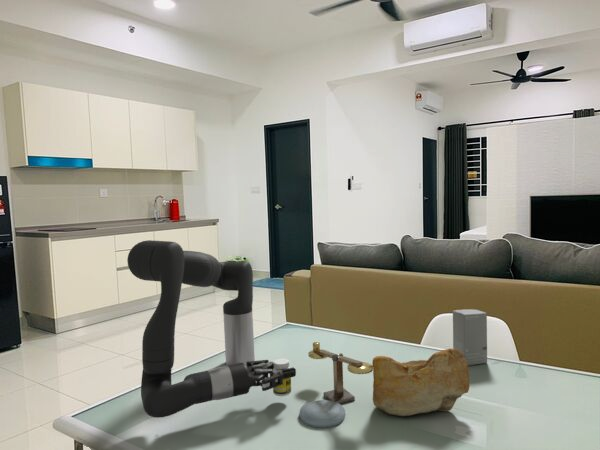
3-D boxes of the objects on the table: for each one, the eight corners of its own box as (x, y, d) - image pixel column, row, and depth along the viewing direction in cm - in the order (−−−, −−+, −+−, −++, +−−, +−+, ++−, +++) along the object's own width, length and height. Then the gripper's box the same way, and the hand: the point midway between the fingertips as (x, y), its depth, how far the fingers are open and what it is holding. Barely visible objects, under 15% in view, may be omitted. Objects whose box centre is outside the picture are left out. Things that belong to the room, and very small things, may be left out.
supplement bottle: (289, 397, 112) (288, 365, 111) (271, 396, 113) (269, 364, 112) (293, 388, 117) (292, 358, 116) (275, 387, 118) (274, 357, 117)
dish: (292, 411, 110) (292, 405, 110) (331, 401, 114) (331, 396, 114) (312, 432, 100) (311, 426, 100) (353, 420, 104) (353, 414, 104)
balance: (305, 380, 127) (304, 335, 126) (324, 376, 130) (322, 332, 129) (357, 425, 102) (355, 369, 101) (379, 419, 104) (377, 364, 103)
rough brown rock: (457, 392, 118) (453, 336, 119) (476, 418, 102) (471, 354, 102) (370, 395, 120) (366, 340, 121) (374, 421, 104) (370, 357, 104)
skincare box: (464, 366, 133) (464, 315, 132) (451, 358, 140) (450, 309, 139) (489, 363, 135) (488, 312, 134) (474, 355, 142) (474, 307, 141)
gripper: (235, 377, 102) (302, 363, 109) (219, 357, 115) (280, 345, 122) (236, 409, 102) (303, 392, 109) (221, 384, 115) (281, 371, 122)
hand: (290, 367), depth 115 cm, fingers closed on supplement bottle, 4 cm apart
